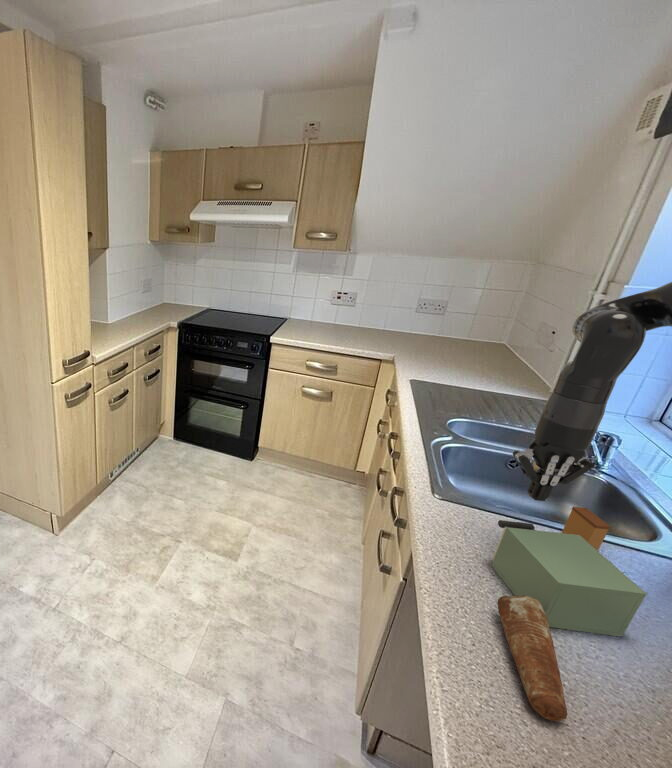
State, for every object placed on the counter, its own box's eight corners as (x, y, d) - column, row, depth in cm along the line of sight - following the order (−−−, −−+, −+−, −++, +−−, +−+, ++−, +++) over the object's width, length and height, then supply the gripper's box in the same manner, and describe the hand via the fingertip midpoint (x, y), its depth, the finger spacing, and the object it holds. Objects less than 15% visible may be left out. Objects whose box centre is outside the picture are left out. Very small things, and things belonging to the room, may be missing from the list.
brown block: (572, 537, 91) (586, 507, 88) (595, 558, 86) (610, 526, 83) (559, 536, 92) (572, 506, 89) (581, 556, 86) (596, 525, 83)
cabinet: (491, 565, 83) (506, 527, 80) (560, 574, 81) (579, 535, 78) (538, 625, 70) (558, 582, 67) (622, 637, 69) (647, 593, 65)
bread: (537, 625, 70) (549, 601, 68) (569, 735, 55) (586, 708, 53) (491, 608, 73) (501, 584, 71) (510, 707, 58) (523, 681, 56)
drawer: (476, 539, 89) (487, 509, 86) (535, 545, 87) (548, 515, 85) (534, 610, 72) (550, 576, 69) (608, 620, 71) (627, 586, 68)
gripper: (544, 424, 72) (511, 506, 78) (630, 431, 70) (589, 514, 76) (516, 407, 79) (488, 483, 85) (593, 413, 77) (559, 490, 83)
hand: (536, 498), depth 81 cm, fingers closed
